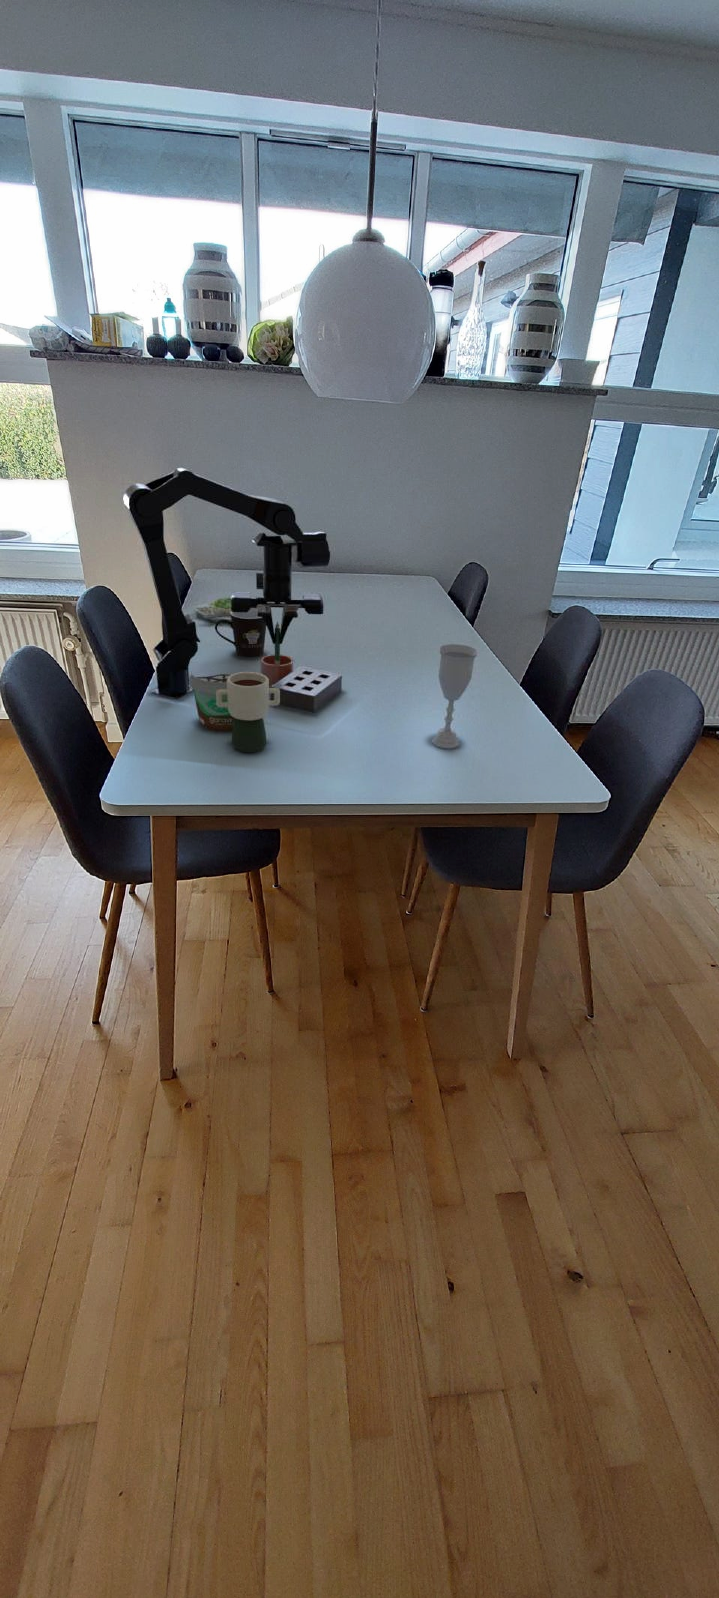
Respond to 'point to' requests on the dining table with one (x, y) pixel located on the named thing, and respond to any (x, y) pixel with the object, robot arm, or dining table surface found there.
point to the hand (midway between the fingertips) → (277, 643)
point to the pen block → (307, 688)
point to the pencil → (277, 644)
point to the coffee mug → (246, 633)
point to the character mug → (248, 708)
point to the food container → (211, 702)
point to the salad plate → (216, 610)
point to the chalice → (453, 685)
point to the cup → (276, 668)
